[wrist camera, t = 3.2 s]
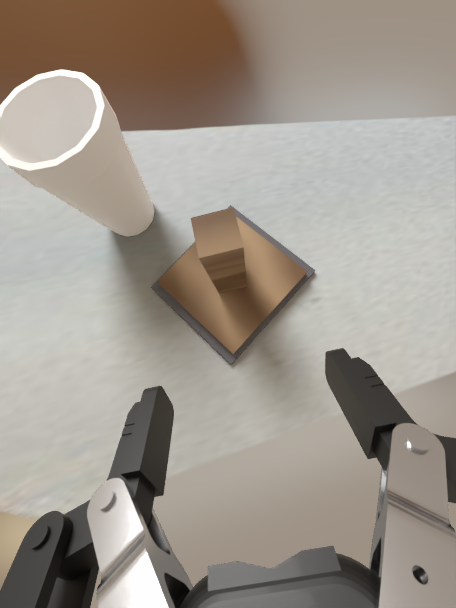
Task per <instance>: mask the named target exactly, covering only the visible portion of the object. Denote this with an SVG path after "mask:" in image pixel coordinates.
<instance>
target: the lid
mask: <svg viewBox="0 0 456 608" xmlns="http://www.w3.org/2000/svg"><path fill="white" fill-rule="evenodd" d="M191 222H192V227H193V232H194V237H195V243H194V244H193V245H192V246H191V247H190V248H189V249H188V250H187V251H186V253H185V254H184V255H183V256H182V257H181V258H180V259H179V260H178V261H177V262H176V263H175V264H174V265H173V266H172V267H171V268H170V269H169V270H168V271H167V272H166V273H165V274H164V275H163V276H162V277H161V278H160V279H159V280H158V281H157V282H158V283H159V284H160V285H161V286H162V287H163V288H164V289H165V290H166V291H167V292H168V293H169V294H170V295H171V296H172V297H173V298H174V299H175V300H177V301H178V302H179V303H180V304H181V305H182V306H183V307H184V308H185V309H186V310H187V311H188V312H189V313H190V314H191V315H192V316H193V317H194V318H195V319H197V320H198V321H199V322H200V323H201V324H202V325H203V326H204V327H205V328H206V329H207V330H208V331H209V332H210V333H211V334H212V335H213V336H214V337H215V338H217V339H218V340H219V341H220V342H221V343H222V344H223V345H224V346H225V347H226V348H227V349H228V350H229V351H230V352H231V353H232V354H234V353H235V352H236V351H237V350H238V349H239V348H240V347H241V345H242V344H243V343H244V342H245V341H246V340H247V339H248V338H249V337H250V336H251V334H252V333H253V332H254V331H255V330H256V329H257V328H258V327H259V326H260V324H261V323H262V322H263V321H264V320H265V319H266V318H267V317H268V316H269V314H270V313H271V312H272V311H273V310H274V309H275V308H276V307H277V306H278V304H279V303H280V302H281V301H282V300H283V299H284V298H285V297H286V296H287V294H288V293H289V292H290V291H291V290H292V289H293V288H294V287H295V286H296V284H297V283H298V282H299V281H300V280H301V279H302V278H303V277H304V276H305V275H306V273H307V271H306V270H305V269H303V268H302V267H301V266H300V265H298V264H297V263H296V262H294V261H293V260H292V259H291V258H289V257H288V256H287V255H285V254H284V253H283V252H281V251H280V250H279V249H278V248H276V247H275V246H274V245H272V244H271V243H270V242H269V241H267V240H266V239H265V238H263V237H262V236H261V235H260V234H258V233H257V232H256V231H254V230H253V229H252V228H251V227H249V226H248V225H247V224H245V223H244V222H243V221H242V220H240V219H239V218H238V217H236V214H235V210H234V207H233V208H229V209H225V210H221V211H217V212H213V213H209V214H205V215H201V216H197V217H193V218H191Z"/></svg>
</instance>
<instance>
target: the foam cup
mask: <svg viewBox="0 0 456 608" xmlns="http://www.w3.org/2000/svg"><path fill="white" fill-rule="evenodd" d="M0 158H1V159H2V160H3V161H4V162H5V163H6V164H7V165H8V166H9V167H10V168H12V169H13V170H14V171H16V172H17V173H18V174H20V175H21V176H22V177H23V178H25V179H26V180H27V181H29V182H30V183H31V184H33V185H34V186H35V187H39V188H43V189H45V190H46V191H48V192H49V193H51V194H53V195H54V196H56V197H58V198H59V199H61V200H62V201H64V202H66V203H67V204H69V205H71V206H72V207H74V208H76V209H77V210H79V211H80V212H82V213H84V214H85V215H87V216H89V217H90V218H92V219H93V220H95V221H97V222H98V223H100V224H102V225H103V226H105V227H107V228H108V229H110V230H111V231H113V232H115V233H117V234H119V235H123V236H126V237H128V236H134V235H138V234H140V233H141V232H143V231H145V230H146V229H147V228H148V227H149V225H150V224H151V222H152V221H153V217H154V212H155V210H154V207H153V203H152V201H151V198H150V196H149V194H148V191H147V189H146V187H145V185H144V182H143V180H142V178H141V176H140V173H139V171H138V169H137V167H136V164H135V162H134V160H133V158H132V156H131V153H130V151H129V149H128V147H127V144H126V142H125V140H124V138H123V135H122V133H121V130H120V127H119V124H118V120H117V117H116V114H115V113H114V111H113V109H112V107H111V106H110V104H109V102H108V101H107V99H106V97H105V95H104V94H103V92H102V90H101V88H100V87H99V85H98V84H96V83H95V82H94V81H92V80H91V79H90V78H89V77H88V76H86V75H85V74H84V73H80V72H74V71H68V70H62V69H61V70H56V71H52V72H48V73H43V74H39V75H36V76H35V77H33V78H31V79H30V80H28V81H26V82H25V83H23V84H21V85H20V86H18V87H16V88H15V89H14V90H13V91H12V92H11V93H10V95H9V96H8V97H7V98H6V99H5V100H4V102H3V103H2V104H1V105H0Z"/></svg>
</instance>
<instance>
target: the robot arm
mask: <svg viewBox="0 0 456 608" xmlns="http://www.w3.org/2000/svg"><path fill="white" fill-rule="evenodd" d="M325 374H326V379H327V382H328V384H329V386H330V388H331V390H332V392H333V394H334V396H335V398H336V400H337V402H338V403H339V405H340V407H341V409H342V411H343V413H344V415H345V417H346V419H347V420H348V422H349V424H350V426H351V428H352V430H353V432H354V434H355V436H356V437H357V439H358V441H359V443H360V445H361V447H362V449H363V451H364V453H365V455H366V456H367V458H368V459H371V458H377V459H378V461H379V462H380V464H381V466H382V470H381V480H380V488H379V497H378V505H377V514H376V523H375V528H374V534H373V539H372V546H371V555H370V563H369V569H368V568H367V567H365V566H364V565H362V564H361V563H359V562H358V561H356V560H354V559H352V558H350V557H347V556H344V555H341V554H337V553H335V549H334V546H328V547H323V548H316V549H310V550H304V551H301V552H299V553H297V554H296V555H294V556H292V557H291V558H289V559H288V560H286V561H284V562H282V563H281V564H279V565H278V566H276V567H274V568H265V567H261V566H256V565H252V564H247V563H243V562H239V561H236V562H230V563H224V564H218V565H212V566H208V575H207V576H205V577H204V578H203V579H202V580H201V581H199V582H198V583H197V584H196V585H195V586H194V587H193V586H192V584H191V582H190V579H189V577H188V575H187V573H186V572H185V570H184V568H183V566H182V565H181V564H180V562H179V561H178V559H177V558H176V556H175V554H174V552H173V551H172V548H171V546H170V544H169V542H168V539H167V537H166V535H165V533H164V531H163V529H162V527H161V524H160V522H159V520H158V518H157V516H156V514H155V511H154V509H153V508H152V507H153V501H154V497H156V496H162V495H163V494H164V486H165V479H166V471H167V464H168V456H169V449H170V441H171V433H172V426H173V418H174V410H173V405H172V403H171V401H170V399H169V398H168V396H167V394H166V393H165V391H164V389H163V388H162V386H157V387H152V388H148V389H145V390H144V391H143V394H142V398H141V402H137V403H135V404H134V406H133V407H132V409H131V410H130V412H129V413H128V416H127V419H126V422H125V427H124V429H123V432H122V437H121V438H120V442H119V445H118V448H117V451H116V455H115V458H114V461H113V464H112V467H111V471H110V474H109V476H108V479H107V481H106V482H104V483H103V484H102V485H101V486H100V487H99V488H98V489H97V490H96V491H95V493H94V494H93V496H92V498H91V499H90V500H89V501H87V502H86V503H84V504H82V505H80V506H79V507H77V508H75V509H73V510H72V511H70V512H68V513H66V514H65V515H64V514H62V513H60V512H58V511H52V512H49V513H47V514H45V515H43V516H42V517H41V518H40V519H38V520H37V521H36V522H35V523H34V524H33V526H32V527H31V528H30V529H29V531H28V532H27V534H26V535H25V537H24V539H23V541H22V543H21V545H20V548H19V550H18V552H17V554H16V557H15V559H14V561H13V563H12V566H11V568H10V570H9V572H8V574H7V577H6V579H5V581H4V584H3V586H2V588H1V590H0V608H90V605H91V601H92V596H93V592H94V588H95V583H96V579H97V574H98V570H99V569H100V573H101V584H100V585H99V586H98V588H97V603H98V608H456V533H455V530H454V528H453V527H452V526H451V524H450V521H449V509H448V502H452V503H456V438H450V437H443V436H439V435H436V434H433V433H431V432H430V431H429V430H427V429H425V428H423V427H421V426H419V425H417V424H416V423H415V422H414V421H413V420H412V419H411V417H410V416H409V415H408V414H407V412H406V411H405V410H404V409H403V407H402V406H401V405H400V403H399V402H398V401H397V399H396V398H395V397H394V396H393V394H392V393H391V392H390V390H389V389H388V388H387V387H386V385H384V383H383V381H382V380H381V379H380V377H378V375H377V374H376V372H375V371H374V370H373V368H372V367H371V366H370V365H369V364H368V363H366V362H365V361H363V360H362V359H360V358H359V357H357V358H352V359H351V358H350V356H349V355H348V353H347V352H346V351H345V349H343V348H341V349H336V350H331V351H327V352H326V359H325Z"/></svg>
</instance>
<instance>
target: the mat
mask: <svg viewBox="0 0 456 608" xmlns="http://www.w3.org/2000/svg"><path fill="white" fill-rule="evenodd" d="M229 208H233V207H232V206H231V205H230V206H229V207H228V208H227V209H229ZM234 210H235V214H236V217H238V218H239V219H240V220H242V221H243V222H244V223H245V224H247V225H248V226H249V227H251V228H252V229H253V230H254V231H256V232H257V233H258V234H260V235H261V236H262V237H263V238H265V239H266V240H267V241H269V242H270V243H271V244H272V245H274V246H275V247H276V248H278V249H279V250H280V251H281V252H283V253H284V254H285V255H287V256H288V257H289V258H291V259H292V260H293V261H294V262H296V263H297V264H298V265H300V266H301V267H302V268H303V269H305V270H306V271H307V273H306V275H305V276H304V277H303V278H302V279H301V280H300V281H299V282H298V283H297V284H296V286H295V287H294V288H293V289H292V290H291V291H290V292H289V293H288V294H287V296H286V297H285V298H284V299H283V300H282V301H281V302H280V303H279V304H278V306H277V307H276V308H275V309H274V310H273V311H272V312H271V313H270V314H269V316H268V317H267V318H266V319H265V320H264V321H263V322H262V323H261V324H260V326H259V327H258V328H257V329H256V330H255V331H254V332H253V333H252V334H251V336H250V337H249V338H248V339H247V340H246V341H245V342H244V343H243V344H242V345H241V347H240V348H239V349H238V350H237V351H236V352H235V353H234V354H232V353H231V352H230V351H229V350H228V349H227V348H226V347H225V346H224V345H223V344H222V343H221V342H220V341H219V340H218V339H217V338H215V337H214V336H213V335H212V334H211V333H210V332H209V331H208V330H207V329H206V328H205V327H204V326H203V325H202V324H201V323H200V322H199V321H198V320H197V319H195V318H194V317H193V316H192V315H191V314H190V313H189V312H188V311H187V310H186V309H185V308H184V307H183V306H182V305H181V304H180V303H179V302H178V301H177V300H175V299H174V298H173V297H172V296H171V295H170V294H169V293H168V292H167V291H166V290H165V289H164V288H163V287H162V286H161V285H160V284H159V283H158V282H156V283H155V284H154V285H153V286H152V287H151V288H152V289H153V290H154V291H155V292H156V293H157V294H158V295H159V296H160V297H162V298H163V299H164V300H165V301H166V302H167V303H168V304H169V305H170V306H171V307H172V308H173V309H174V310H175V311H176V312H177V313H178V314H179V315H180V316H181V317H182V318H183V319H184V320H185V321H186V322H187V323H188V324H189V325H191V326H192V327H193V328H194V329H195V330H196V331H197V332H198V333H199V334H200V335H201V336H202V337H203V338H204V339H205V340H206V341H207V342H208V343H209V344H210V345H211V346H212V347H213V348H214V349H215V350H216V351H217V352H218V353H220V354H221V355H222V356H223V357H224V358H225V359H226V360H227V361H228V362H229V363H230V364H232V363H233V362H234V360H235V359H236V358H237V357H238V356H239V355H240V354H241V353H242V352H243V350H244V349H245V348H246V347H247V346H248V345H249V344H250V343H251V342H252V340H253V339H254V338H255V337H256V336H257V335H258V334H259V333H260V332H261V330H262V329H263V328H264V327H265V326H266V325H267V324H268V323H269V322H270V320H271V319H272V318H273V317H274V316H275V315H276V314H277V313H278V312H279V310H280V309H281V308H282V307H283V306H284V305H285V304H286V303H287V302H288V300H289V299H290V298H291V297H292V296H293V295H294V294H295V293H296V291H297V290H298V289H299V288H300V287H301V286H302V285H303V284H304V283H305V281H306V280H307V279H308V278H309V277H310V276H311V275H312V274H313V273H314V271H315V270H314V269H313V268H311V267H310V266H309V265H308V264H306V263H305V262H304V261H302V260H301V259H300V258H298V257H297V256H296V255H294V254H293V253H292V252H291V251H289V250H288V249H287V248H285V247H284V246H283V245H281V244H280V243H279V242H278V241H276V240H275V239H274V238H272V237H271V236H270V235H268V234H267V233H266V232H265V231H263V230H262V229H261V228H259V227H258V226H257V225H255V224H254V223H253V222H252V221H250V220H249V219H248V218H246V217H245V216H244V215H242V214H241V213H240V212H238V211H237V210H236V209H235V208H234ZM194 243H195V242H194ZM194 243H193V244H194ZM185 253H186V252H185ZM185 253H184V254H185ZM184 254H183V255H184ZM183 255H182V256H183ZM182 256H181V257H182ZM181 257H180V258H181ZM180 258H179V259H180ZM179 259H178V260H179ZM178 260H177V261H178ZM177 261H176V262H177ZM176 262H175V263H176ZM175 263H174V264H175ZM174 264H173V265H174ZM173 265H172V266H173ZM172 266H171V267H172ZM171 267H170V268H171ZM170 268H169V269H170ZM169 269H168V270H169ZM168 270H167V271H168ZM167 271H166V272H167ZM166 272H165V273H166ZM165 273H164V274H165ZM164 274H163V275H164ZM163 275H162V276H163ZM162 276H161V277H162Z"/></svg>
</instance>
